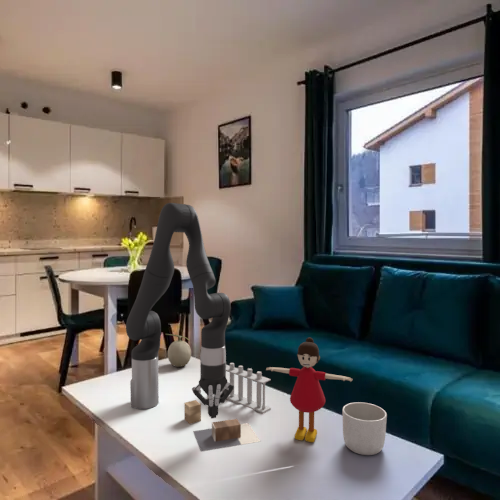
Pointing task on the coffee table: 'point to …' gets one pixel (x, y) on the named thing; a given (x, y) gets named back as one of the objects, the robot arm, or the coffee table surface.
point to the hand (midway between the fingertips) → (213, 416)
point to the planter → (364, 427)
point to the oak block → (192, 411)
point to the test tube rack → (250, 376)
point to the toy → (307, 387)
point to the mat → (208, 442)
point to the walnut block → (226, 430)
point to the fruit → (179, 352)
